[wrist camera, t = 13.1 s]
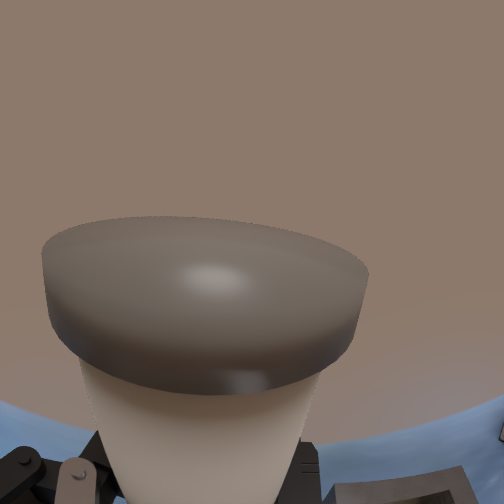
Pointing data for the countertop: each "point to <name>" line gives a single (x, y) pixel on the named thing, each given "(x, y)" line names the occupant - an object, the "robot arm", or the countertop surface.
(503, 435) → the skincare box
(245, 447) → the plug
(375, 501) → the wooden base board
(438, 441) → the countertop surface
